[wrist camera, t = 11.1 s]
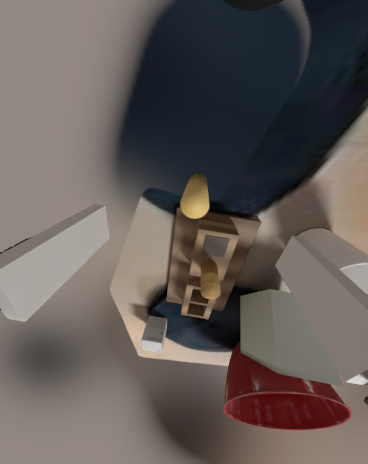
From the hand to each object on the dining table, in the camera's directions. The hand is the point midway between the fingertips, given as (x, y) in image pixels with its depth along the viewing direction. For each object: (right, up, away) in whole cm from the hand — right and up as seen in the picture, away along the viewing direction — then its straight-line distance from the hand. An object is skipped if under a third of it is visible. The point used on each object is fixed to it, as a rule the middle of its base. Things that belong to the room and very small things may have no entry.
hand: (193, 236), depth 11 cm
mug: (+24, -4, +21) cm, 32 cm away
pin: (+2, +9, +16) cm, 19 cm away
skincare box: (-9, -29, +39) cm, 50 cm away
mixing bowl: (+25, -37, +39) cm, 60 cm away
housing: (+19, -14, +23) cm, 33 cm away
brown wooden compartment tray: (+4, -8, +25) cm, 27 cm away
